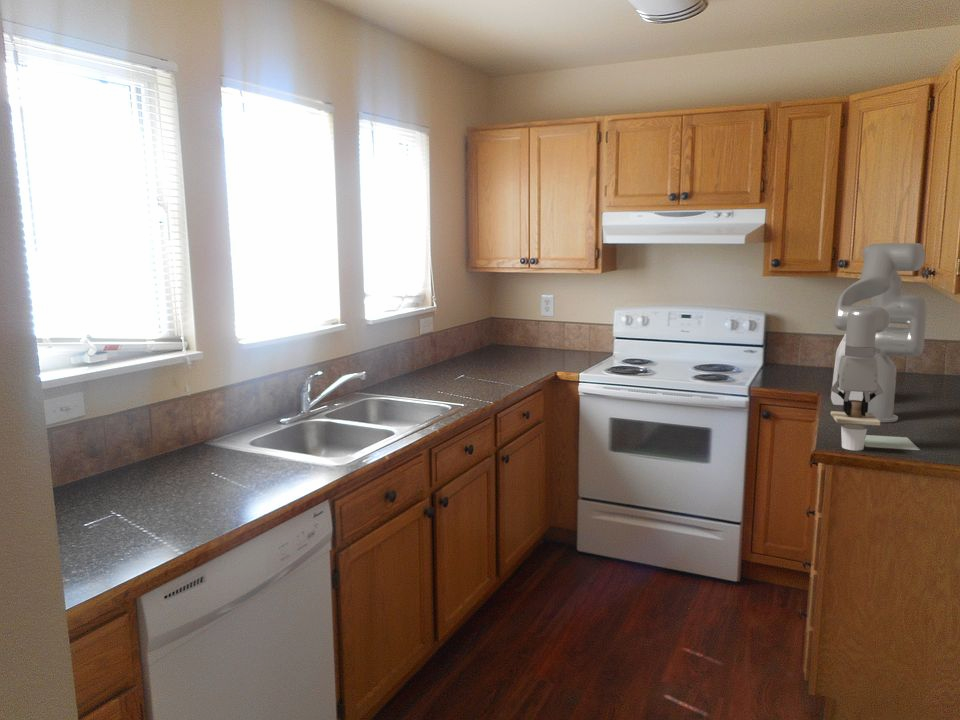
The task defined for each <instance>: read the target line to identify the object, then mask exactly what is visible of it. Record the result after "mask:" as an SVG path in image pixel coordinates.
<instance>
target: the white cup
mask: <svg viewBox="0 0 960 720" xmlns="http://www.w3.org/2000/svg"><path fill="white" fill-rule="evenodd" d="M840 430H841V432H840V433H841V437H840V438H841V448H842V449H845V450H847V451H848V450H849V451H863V450H864V449H865V445H864V443H865V438H866V435H867V432H868V427H867V425H864V424H846V423H841V425H840Z"/></svg>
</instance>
